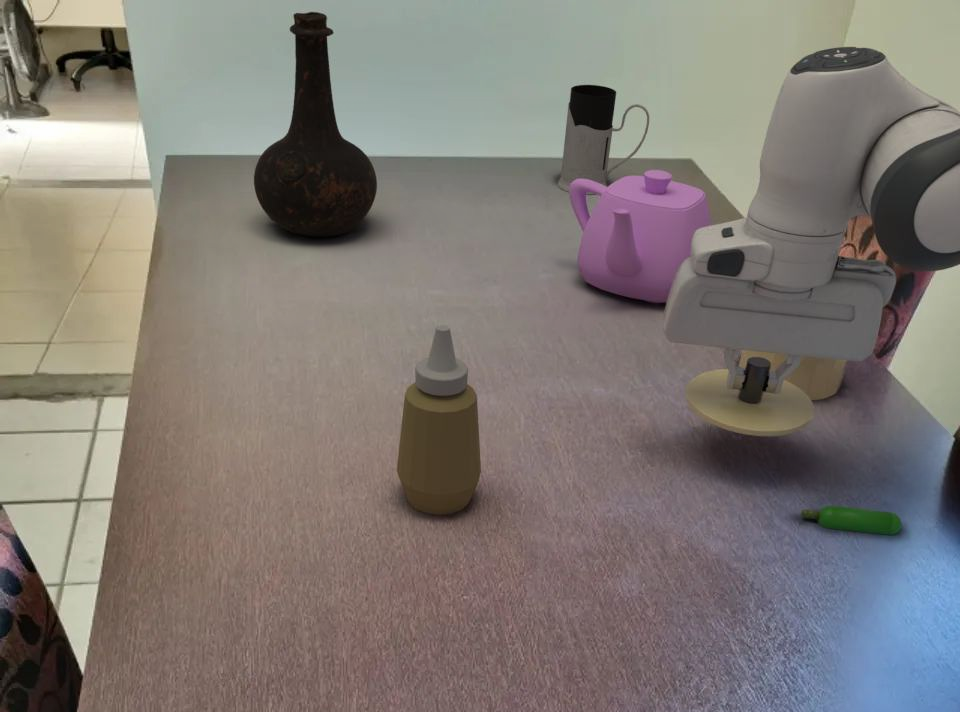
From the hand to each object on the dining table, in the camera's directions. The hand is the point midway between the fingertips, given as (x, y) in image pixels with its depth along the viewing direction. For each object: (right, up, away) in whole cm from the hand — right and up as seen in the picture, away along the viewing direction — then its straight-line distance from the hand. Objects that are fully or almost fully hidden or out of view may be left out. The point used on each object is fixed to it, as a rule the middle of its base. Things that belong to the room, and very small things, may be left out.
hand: (751, 388), depth 99 cm
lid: (0, -1, +1) cm, 2 cm away
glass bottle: (-52, +38, +50) cm, 82 cm away
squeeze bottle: (-32, -12, -3) cm, 34 cm away
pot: (+10, +6, +20) cm, 23 cm away
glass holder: (-7, +53, +71) cm, 89 cm away
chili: (+9, -15, -3) cm, 18 cm away
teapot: (-5, +25, +39) cm, 47 cm away
